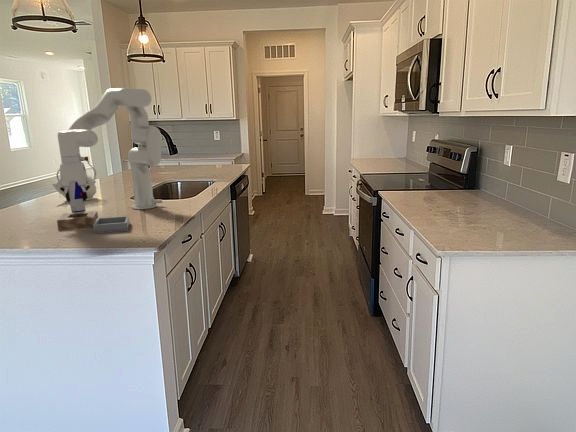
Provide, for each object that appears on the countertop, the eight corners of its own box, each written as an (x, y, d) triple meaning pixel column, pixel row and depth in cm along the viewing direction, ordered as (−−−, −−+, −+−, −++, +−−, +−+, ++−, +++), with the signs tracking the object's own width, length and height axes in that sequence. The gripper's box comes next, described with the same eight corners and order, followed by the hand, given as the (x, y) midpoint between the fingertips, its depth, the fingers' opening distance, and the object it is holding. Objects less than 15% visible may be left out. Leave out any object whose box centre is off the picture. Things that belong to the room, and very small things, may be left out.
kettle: (91, 195, 251) (86, 155, 245) (105, 198, 239) (101, 156, 233) (48, 201, 232) (41, 158, 226) (61, 205, 220) (55, 159, 215)
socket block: (98, 219, 188) (97, 211, 187) (94, 226, 175) (93, 217, 174) (64, 221, 184) (63, 213, 183) (58, 229, 171) (56, 220, 170)
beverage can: (80, 214, 176) (75, 180, 172) (68, 214, 177) (63, 180, 173) (88, 211, 181) (83, 178, 177) (77, 211, 182) (72, 178, 178)
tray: (129, 223, 180) (128, 215, 179) (127, 230, 168) (127, 222, 167) (98, 225, 176) (97, 218, 175) (93, 233, 164) (92, 225, 163)
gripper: (94, 158, 179) (99, 198, 184) (50, 160, 174) (57, 201, 178) (91, 160, 172) (97, 201, 177) (46, 162, 167) (53, 204, 172)
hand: (77, 200), depth 178 cm, fingers closed on beverage can, 5 cm apart
